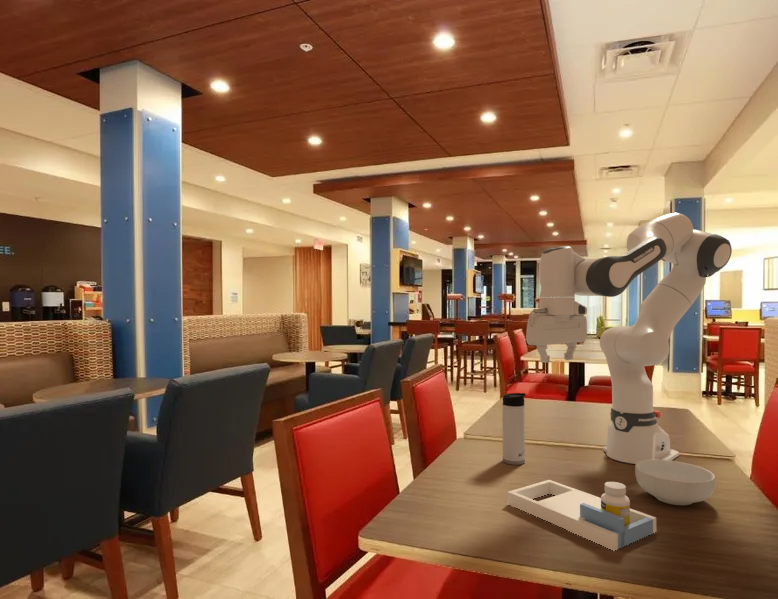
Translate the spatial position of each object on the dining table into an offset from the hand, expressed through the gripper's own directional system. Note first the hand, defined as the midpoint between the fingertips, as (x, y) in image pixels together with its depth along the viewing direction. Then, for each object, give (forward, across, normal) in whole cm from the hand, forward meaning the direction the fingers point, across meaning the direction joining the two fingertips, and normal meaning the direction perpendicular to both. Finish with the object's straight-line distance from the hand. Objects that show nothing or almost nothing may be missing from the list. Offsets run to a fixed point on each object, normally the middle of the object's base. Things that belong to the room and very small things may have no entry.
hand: (557, 361), depth 137 cm
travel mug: (+31, +2, +17) cm, 36 cm away
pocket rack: (+31, -16, -18) cm, 39 cm away
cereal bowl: (+31, +12, -24) cm, 41 cm away
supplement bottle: (+31, -16, -27) cm, 44 cm away
